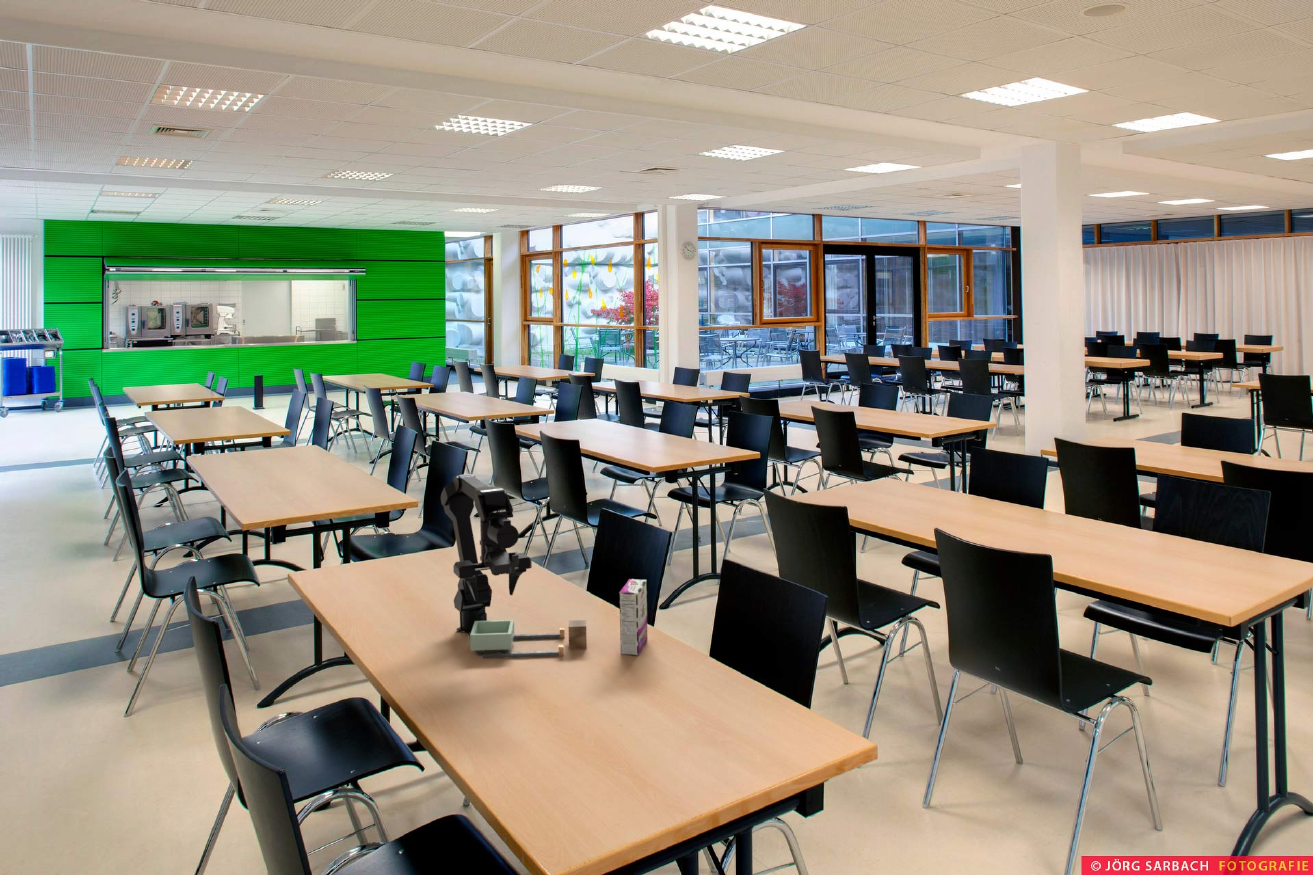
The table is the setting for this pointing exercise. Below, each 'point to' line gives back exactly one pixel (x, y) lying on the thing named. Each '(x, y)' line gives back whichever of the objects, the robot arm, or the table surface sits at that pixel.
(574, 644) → the walnut block
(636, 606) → the candy bar box
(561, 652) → the rails
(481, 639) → the sage green storage bin
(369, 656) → the table surface
